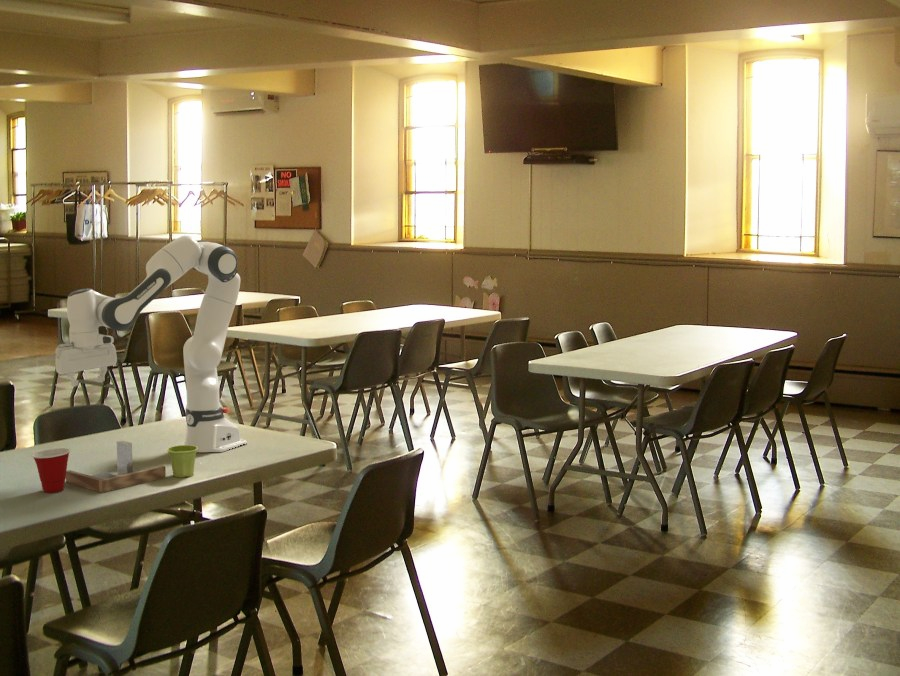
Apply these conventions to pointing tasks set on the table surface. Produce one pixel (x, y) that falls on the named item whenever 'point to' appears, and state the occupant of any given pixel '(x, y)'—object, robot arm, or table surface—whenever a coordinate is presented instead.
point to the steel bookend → (123, 459)
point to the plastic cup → (52, 468)
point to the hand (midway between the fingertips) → (88, 383)
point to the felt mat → (106, 475)
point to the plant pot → (182, 460)
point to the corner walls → (115, 479)
